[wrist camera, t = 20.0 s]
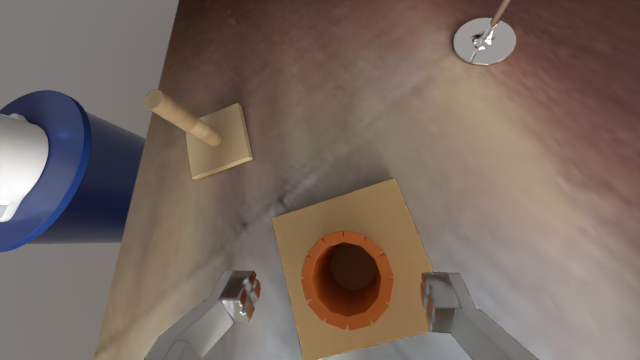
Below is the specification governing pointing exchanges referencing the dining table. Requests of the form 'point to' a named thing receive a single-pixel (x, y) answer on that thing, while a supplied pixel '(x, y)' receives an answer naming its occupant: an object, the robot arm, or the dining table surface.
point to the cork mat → (356, 266)
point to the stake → (206, 134)
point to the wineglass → (485, 39)
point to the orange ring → (339, 301)
